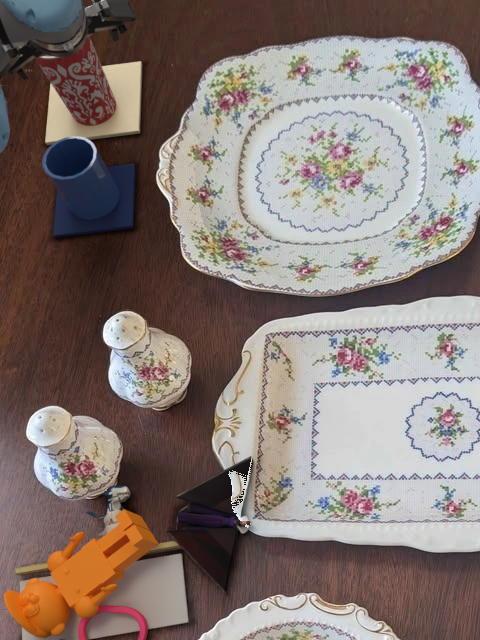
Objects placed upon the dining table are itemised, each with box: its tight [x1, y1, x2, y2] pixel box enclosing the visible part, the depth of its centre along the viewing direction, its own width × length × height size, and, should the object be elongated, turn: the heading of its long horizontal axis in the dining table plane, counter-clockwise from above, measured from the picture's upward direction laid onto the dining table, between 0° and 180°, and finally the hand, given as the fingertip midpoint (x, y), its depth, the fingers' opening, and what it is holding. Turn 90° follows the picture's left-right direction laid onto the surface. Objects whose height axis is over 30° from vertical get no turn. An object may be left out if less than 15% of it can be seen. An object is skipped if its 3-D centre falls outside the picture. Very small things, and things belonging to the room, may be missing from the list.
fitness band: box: [78, 605, 149, 640], centre depth 94 cm, size 8×6×2 cm
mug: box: [34, 36, 116, 126], centre depth 121 cm, size 13×9×14 cm
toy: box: [3, 508, 160, 638], centre depth 93 cm, size 9×18×8 cm, turn 126°
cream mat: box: [44, 60, 143, 146], centre depth 127 cm, size 15×15×1 cm
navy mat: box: [52, 162, 137, 239], centre depth 120 cm, size 12×12×1 cm
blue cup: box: [41, 136, 120, 220], centre depth 116 cm, size 8×8×9 cm
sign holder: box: [14, 540, 190, 640], centre depth 96 cm, size 21×2×10 cm
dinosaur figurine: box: [85, 484, 131, 537], centre depth 99 cm, size 5×4×10 cm
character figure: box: [165, 455, 254, 596], centre depth 98 cm, size 18×3×10 cm
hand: (66, 49), depth 111 cm, fingers open, 13 cm apart
